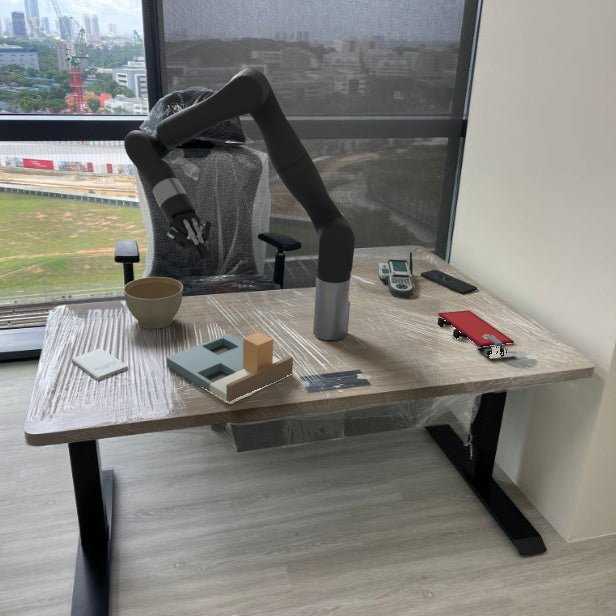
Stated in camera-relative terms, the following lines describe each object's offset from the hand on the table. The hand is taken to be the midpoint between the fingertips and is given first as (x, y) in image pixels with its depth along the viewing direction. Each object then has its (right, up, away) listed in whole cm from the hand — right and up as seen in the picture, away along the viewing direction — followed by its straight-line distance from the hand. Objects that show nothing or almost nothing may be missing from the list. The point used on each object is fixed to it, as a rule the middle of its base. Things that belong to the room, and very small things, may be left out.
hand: (205, 259), depth 148 cm
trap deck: (+6, -28, 0) cm, 28 cm away
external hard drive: (-26, -27, 0) cm, 37 cm away
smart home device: (+75, -4, +63) cm, 98 cm away
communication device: (+56, -5, +59) cm, 81 cm away
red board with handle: (+74, -21, +25) cm, 81 cm away
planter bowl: (-18, -16, +23) cm, 33 cm away
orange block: (+13, -27, -3) cm, 30 cm away
